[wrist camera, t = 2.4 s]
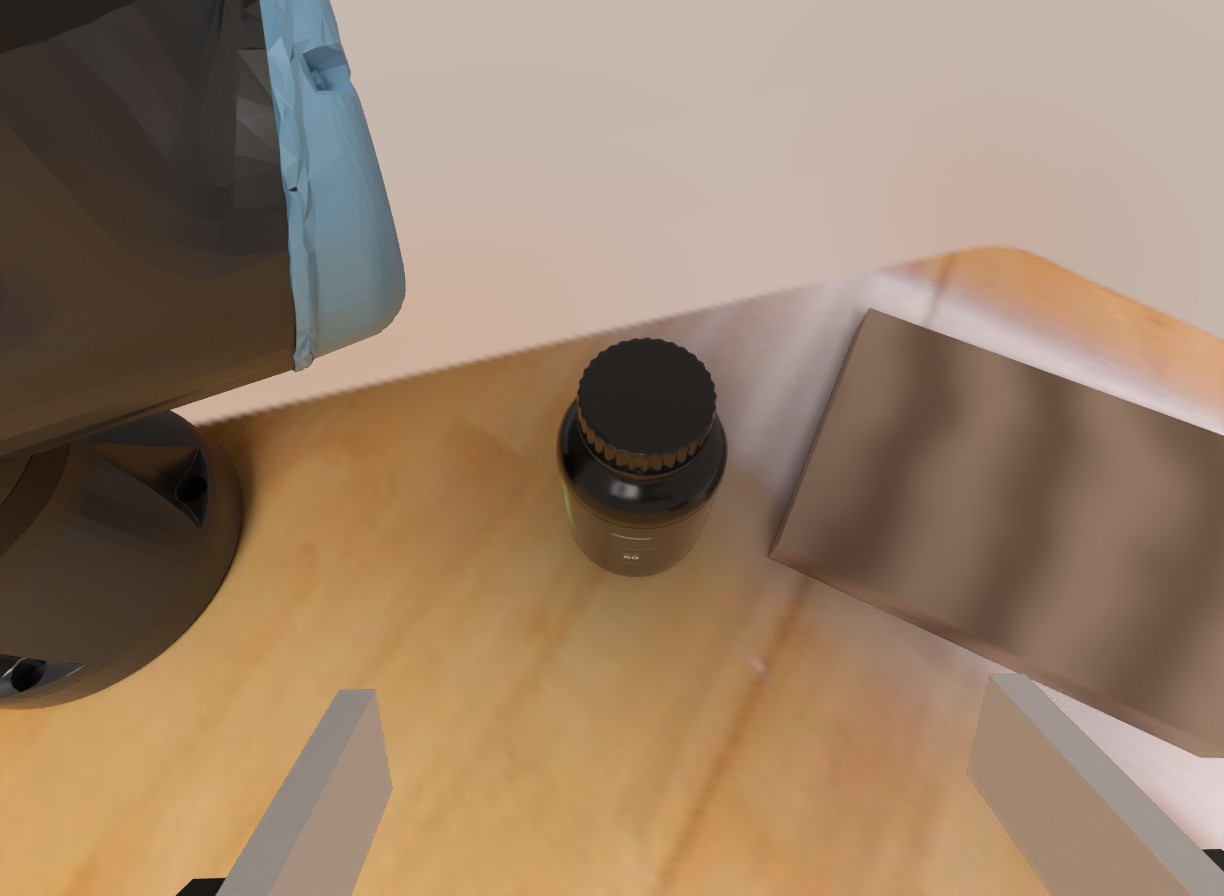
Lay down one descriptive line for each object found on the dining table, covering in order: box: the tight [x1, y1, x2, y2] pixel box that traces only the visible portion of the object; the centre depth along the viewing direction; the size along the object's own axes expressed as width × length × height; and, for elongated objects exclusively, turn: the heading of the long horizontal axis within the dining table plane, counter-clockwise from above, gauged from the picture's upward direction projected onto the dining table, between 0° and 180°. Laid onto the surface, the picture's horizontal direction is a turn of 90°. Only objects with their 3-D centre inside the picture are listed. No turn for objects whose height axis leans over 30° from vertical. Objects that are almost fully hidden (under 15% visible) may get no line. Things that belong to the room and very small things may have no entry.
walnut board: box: [768, 308, 1224, 758], centre depth 30 cm, size 20×16×2 cm
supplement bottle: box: [556, 338, 728, 577], centre depth 25 cm, size 7×7×12 cm
